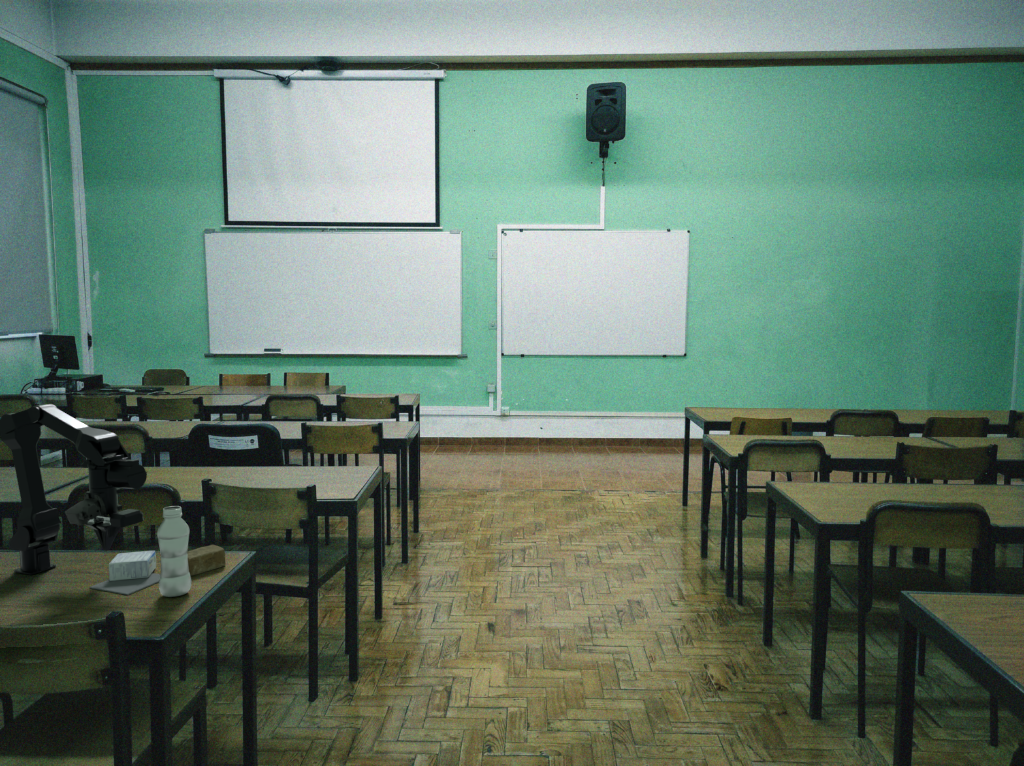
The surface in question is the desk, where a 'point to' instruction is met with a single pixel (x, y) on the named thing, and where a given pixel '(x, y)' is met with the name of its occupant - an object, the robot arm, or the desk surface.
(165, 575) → the plastic bottle
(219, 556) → the stone block
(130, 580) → the mat
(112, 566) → the medicine box
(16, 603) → the desk surface
